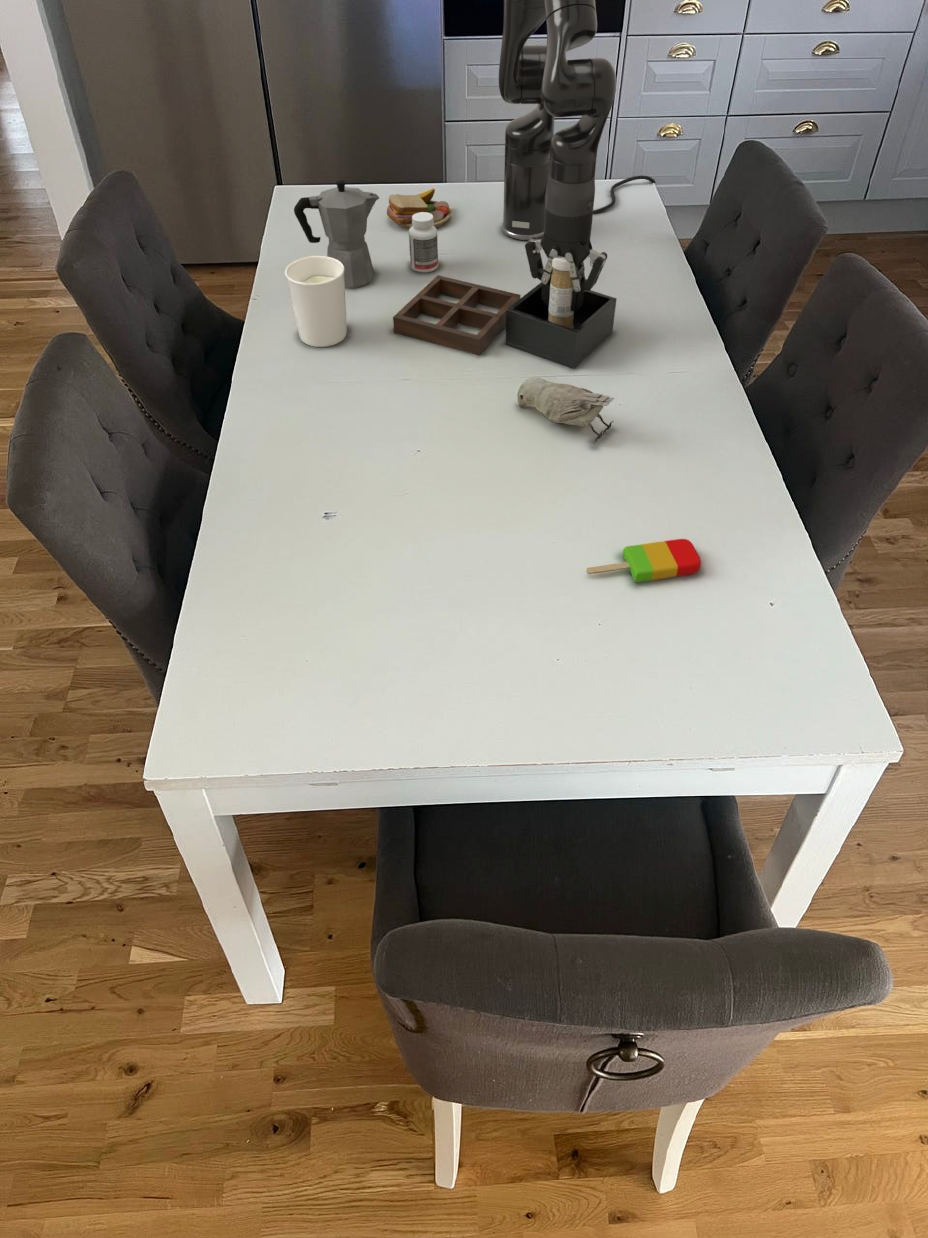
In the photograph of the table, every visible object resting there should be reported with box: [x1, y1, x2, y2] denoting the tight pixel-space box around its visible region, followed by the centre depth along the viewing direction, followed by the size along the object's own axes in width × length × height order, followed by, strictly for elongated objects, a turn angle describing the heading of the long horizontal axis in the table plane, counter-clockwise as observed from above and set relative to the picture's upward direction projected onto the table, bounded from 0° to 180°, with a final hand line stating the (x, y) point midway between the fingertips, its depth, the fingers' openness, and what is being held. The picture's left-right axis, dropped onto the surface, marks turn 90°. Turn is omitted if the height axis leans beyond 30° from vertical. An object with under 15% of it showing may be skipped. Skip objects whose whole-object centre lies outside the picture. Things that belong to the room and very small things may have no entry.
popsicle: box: [586, 538, 702, 583], centre depth 121 cm, size 6×15×2 cm, turn 101°
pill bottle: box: [408, 212, 439, 274], centre depth 174 cm, size 5×5×10 cm
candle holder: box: [284, 255, 348, 348], centre depth 157 cm, size 10×10×12 cm
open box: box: [504, 281, 618, 370], centre depth 158 cm, size 14×14×7 cm
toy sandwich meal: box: [386, 187, 452, 230], centre depth 190 cm, size 12×14×5 cm
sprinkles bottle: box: [548, 256, 578, 329], centre depth 154 cm, size 5×5×13 cm
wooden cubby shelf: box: [392, 274, 522, 356], centre depth 163 cm, size 17×17×3 cm
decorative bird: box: [517, 376, 615, 444], centre depth 141 cm, size 5×16×8 cm, turn 55°
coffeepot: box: [293, 179, 380, 289], centre depth 169 cm, size 15×9×18 cm, turn 103°
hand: (561, 305), depth 155 cm, fingers closed on sprinkles bottle, 4 cm apart
